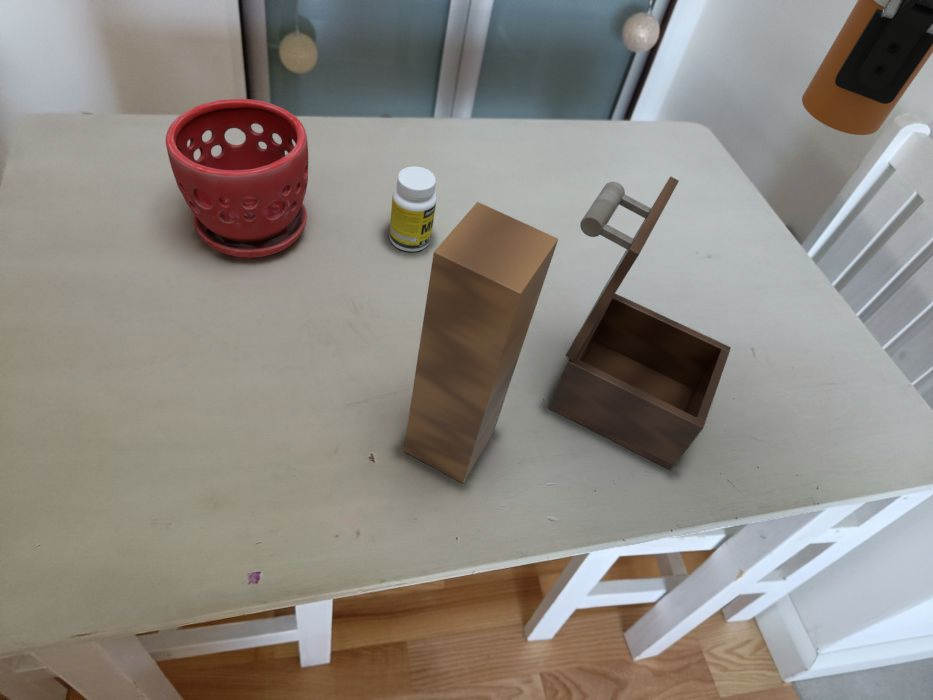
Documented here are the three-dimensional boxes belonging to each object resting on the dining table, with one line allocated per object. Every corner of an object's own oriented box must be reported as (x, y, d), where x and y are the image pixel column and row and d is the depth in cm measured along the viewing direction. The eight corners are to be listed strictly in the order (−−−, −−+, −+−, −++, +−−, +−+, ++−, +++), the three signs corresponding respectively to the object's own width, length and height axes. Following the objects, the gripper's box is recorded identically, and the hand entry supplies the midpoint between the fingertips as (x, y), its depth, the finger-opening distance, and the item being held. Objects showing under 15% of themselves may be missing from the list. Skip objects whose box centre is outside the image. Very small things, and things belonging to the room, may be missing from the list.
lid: (679, 180, 56) (624, 151, 56) (639, 254, 49) (578, 220, 50) (613, 288, 66) (567, 263, 67) (573, 360, 60) (523, 332, 60)
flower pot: (319, 196, 80) (317, 104, 71) (299, 277, 72) (293, 183, 62) (204, 181, 79) (186, 84, 69) (169, 261, 70) (144, 163, 61)
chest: (699, 391, 70) (731, 347, 64) (670, 470, 63) (703, 428, 58) (586, 337, 72) (607, 289, 67) (547, 407, 66) (567, 361, 60)
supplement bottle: (424, 257, 76) (432, 197, 70) (383, 246, 76) (387, 185, 70) (435, 230, 79) (444, 170, 73) (396, 219, 79) (401, 158, 73)
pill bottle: (884, 109, 43) (977, -25, 37) (877, 147, 40) (977, 8, 33) (806, 79, 44) (884, -56, 37) (793, 114, 41) (875, -27, 34)
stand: (493, 433, 63) (558, 238, 45) (462, 483, 59) (520, 293, 41) (436, 403, 64) (477, 201, 46) (403, 451, 60) (433, 251, 42)
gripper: (1343, -351, 20) (923, 170, 34) (1219, -363, 30) (937, 40, 44) (1071, -413, 21) (776, 112, 35) (1041, -404, 31) (823, -1, 46)
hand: (868, 68), depth 39 cm, fingers closed on pill bottle, 4 cm apart
